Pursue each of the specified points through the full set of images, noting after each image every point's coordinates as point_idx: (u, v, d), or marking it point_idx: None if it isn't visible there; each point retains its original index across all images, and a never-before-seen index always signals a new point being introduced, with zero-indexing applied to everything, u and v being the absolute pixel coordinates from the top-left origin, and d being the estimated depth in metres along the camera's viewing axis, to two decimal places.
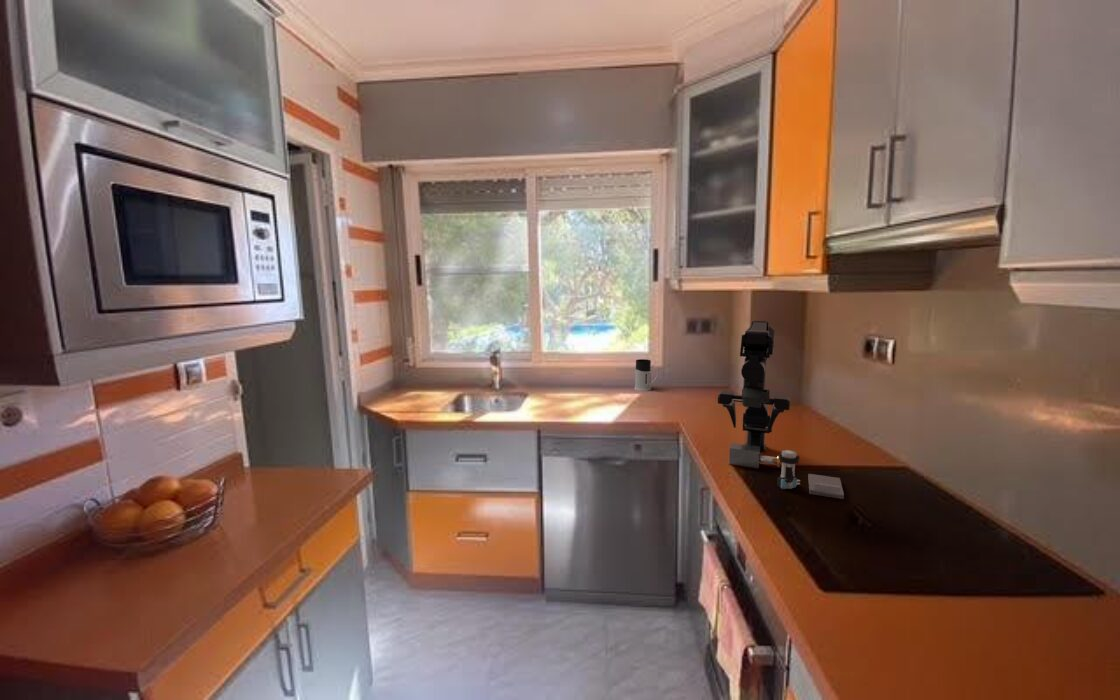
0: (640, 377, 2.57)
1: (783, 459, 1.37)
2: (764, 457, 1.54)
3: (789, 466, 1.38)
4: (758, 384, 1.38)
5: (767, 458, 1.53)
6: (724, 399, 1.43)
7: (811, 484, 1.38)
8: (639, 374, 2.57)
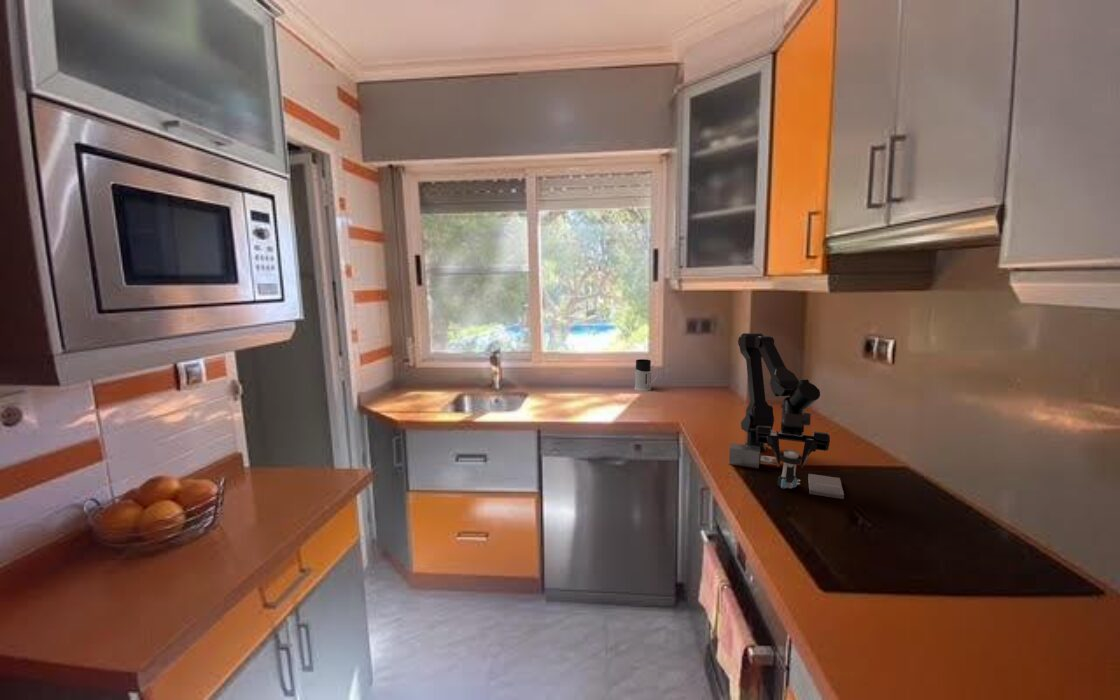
0: (640, 377, 2.57)
1: (785, 459, 1.37)
2: (764, 457, 1.54)
3: (790, 466, 1.38)
4: None
5: (767, 458, 1.53)
6: (763, 428, 1.43)
7: (811, 484, 1.38)
8: (639, 374, 2.57)
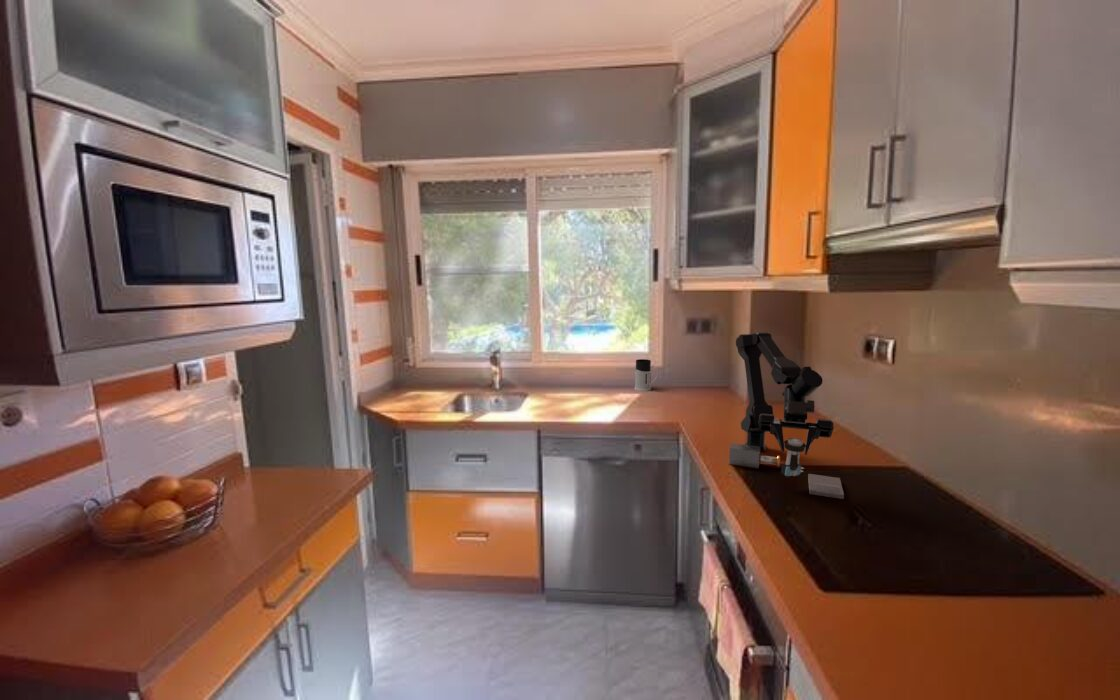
0: (640, 377, 2.57)
1: (789, 447, 1.36)
2: (764, 457, 1.54)
3: (795, 454, 1.37)
4: None
5: (767, 458, 1.53)
6: (766, 416, 1.42)
7: (811, 484, 1.38)
8: (639, 374, 2.57)
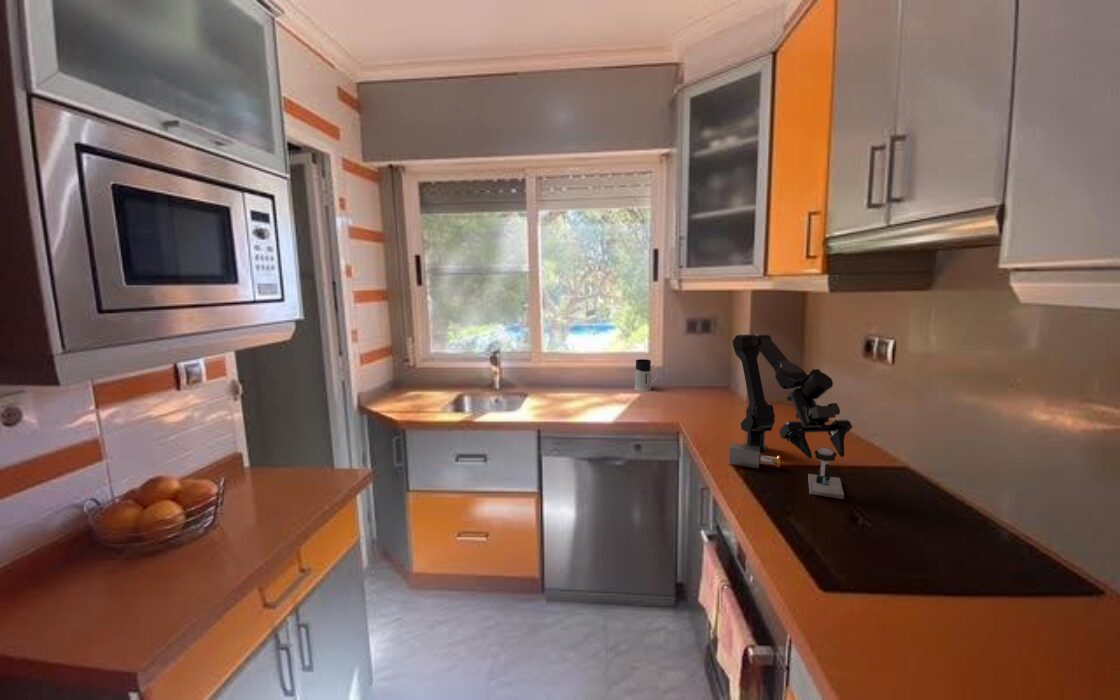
0: (640, 377, 2.57)
1: (825, 457, 1.35)
2: (764, 457, 1.54)
3: (827, 463, 1.37)
4: None
5: (767, 458, 1.53)
6: (794, 424, 1.39)
7: (811, 484, 1.38)
8: (639, 374, 2.57)
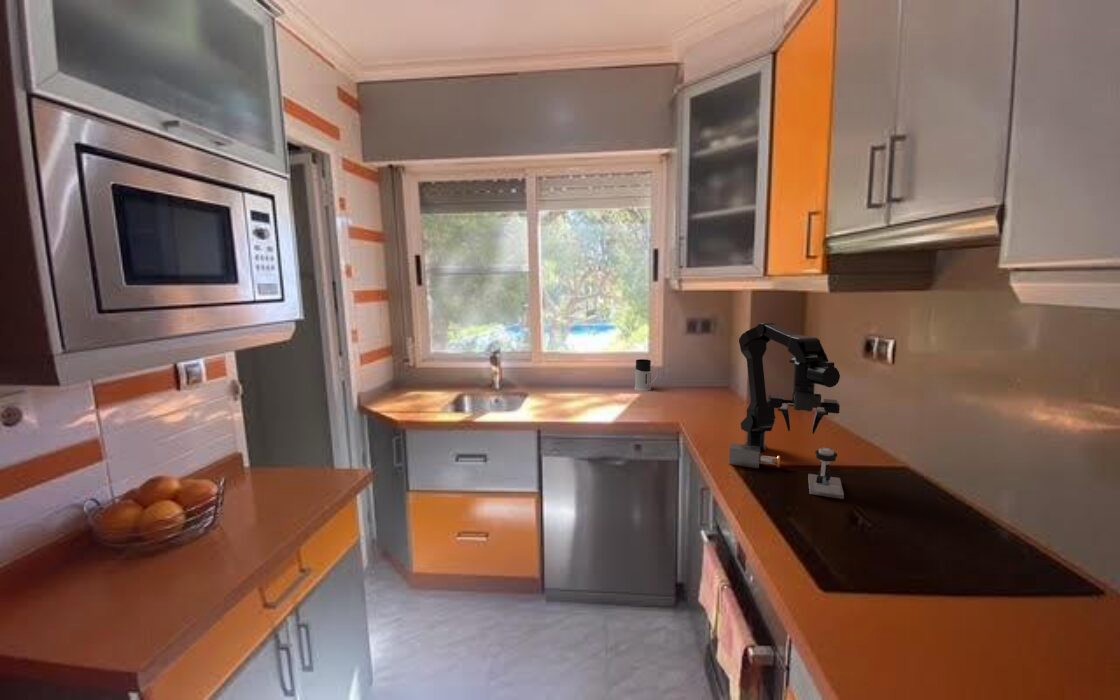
0: (640, 377, 2.57)
1: (826, 457, 1.35)
2: (764, 457, 1.54)
3: (828, 463, 1.36)
4: (808, 388, 1.44)
5: (767, 458, 1.53)
6: (774, 403, 1.48)
7: (811, 484, 1.38)
8: (639, 374, 2.57)
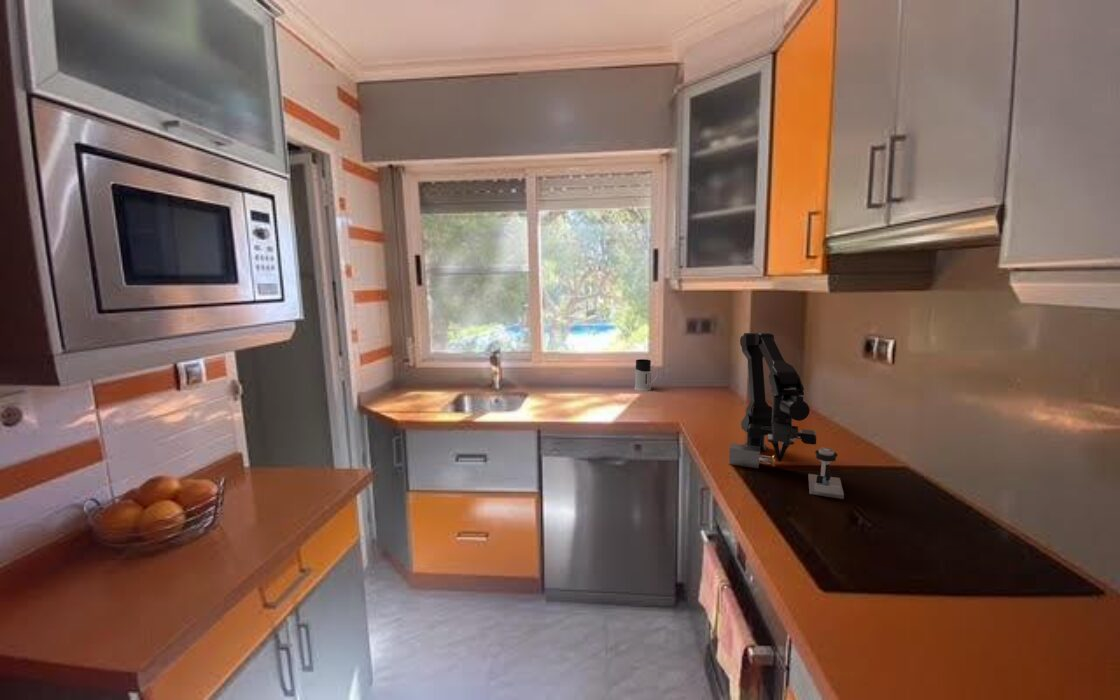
0: (640, 377, 2.57)
1: (826, 457, 1.35)
2: (760, 456, 1.54)
3: (828, 463, 1.36)
4: (786, 420, 1.48)
5: (763, 457, 1.54)
6: (754, 433, 1.52)
7: (811, 484, 1.38)
8: (639, 374, 2.57)
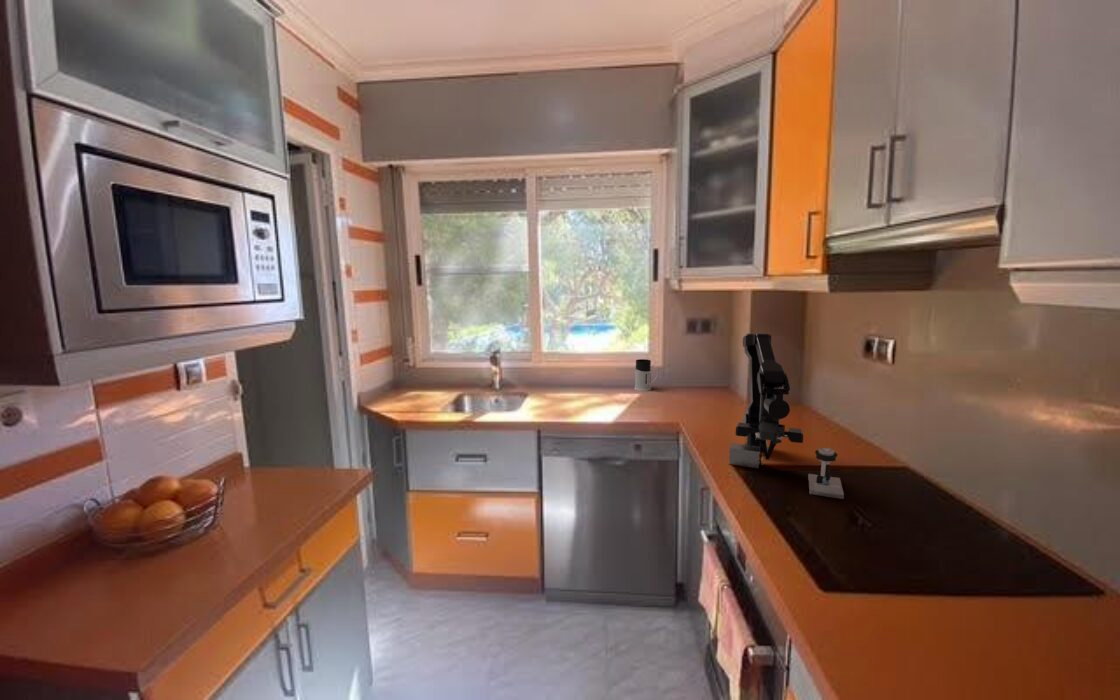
0: (640, 377, 2.57)
1: (826, 457, 1.35)
2: None
3: (828, 463, 1.36)
4: (774, 418, 1.49)
5: None
6: (742, 431, 1.53)
7: (811, 484, 1.38)
8: (639, 374, 2.57)
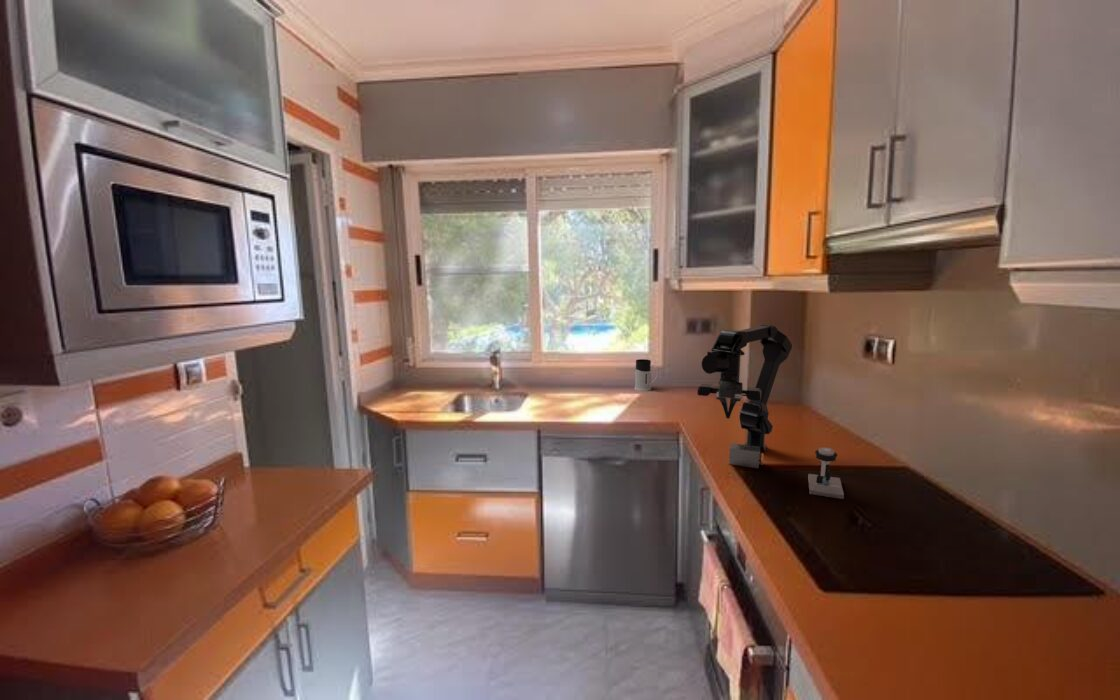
0: (640, 377, 2.57)
1: (826, 457, 1.35)
2: None
3: (828, 463, 1.36)
4: (733, 377, 1.55)
5: None
6: (703, 391, 1.60)
7: (811, 484, 1.38)
8: (639, 374, 2.57)
